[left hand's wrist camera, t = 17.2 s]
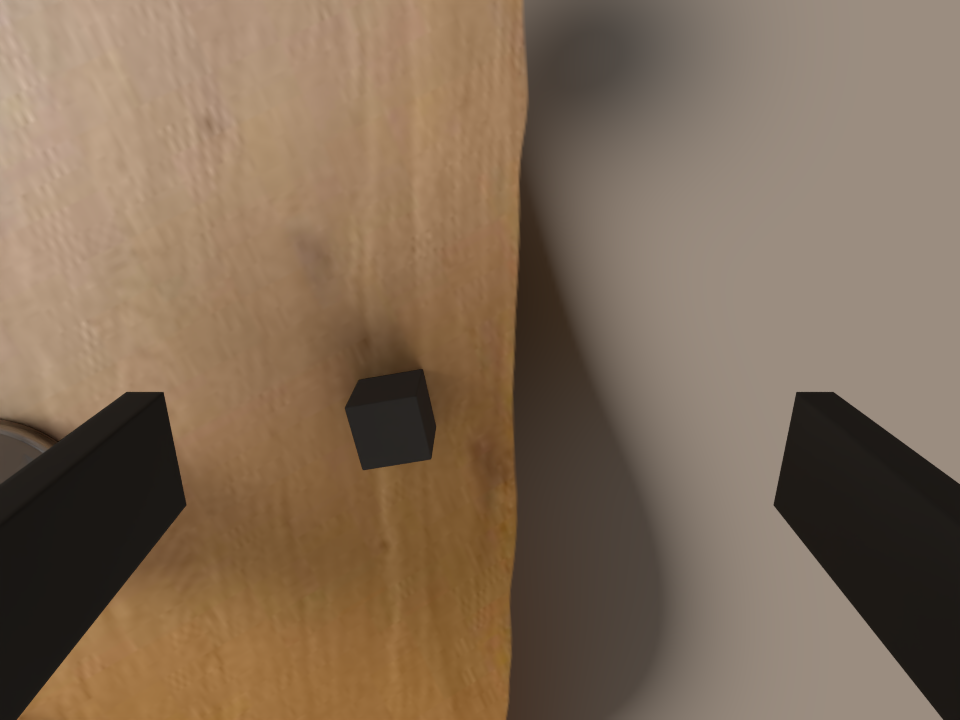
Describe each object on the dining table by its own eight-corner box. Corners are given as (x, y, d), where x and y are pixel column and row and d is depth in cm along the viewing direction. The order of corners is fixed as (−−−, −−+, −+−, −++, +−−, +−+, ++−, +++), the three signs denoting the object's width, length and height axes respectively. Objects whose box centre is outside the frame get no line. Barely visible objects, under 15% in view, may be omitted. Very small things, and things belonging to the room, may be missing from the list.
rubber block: (436, 427, 47) (431, 459, 42) (374, 437, 47) (362, 470, 42) (422, 368, 45) (416, 395, 40) (358, 379, 45) (344, 407, 41)
